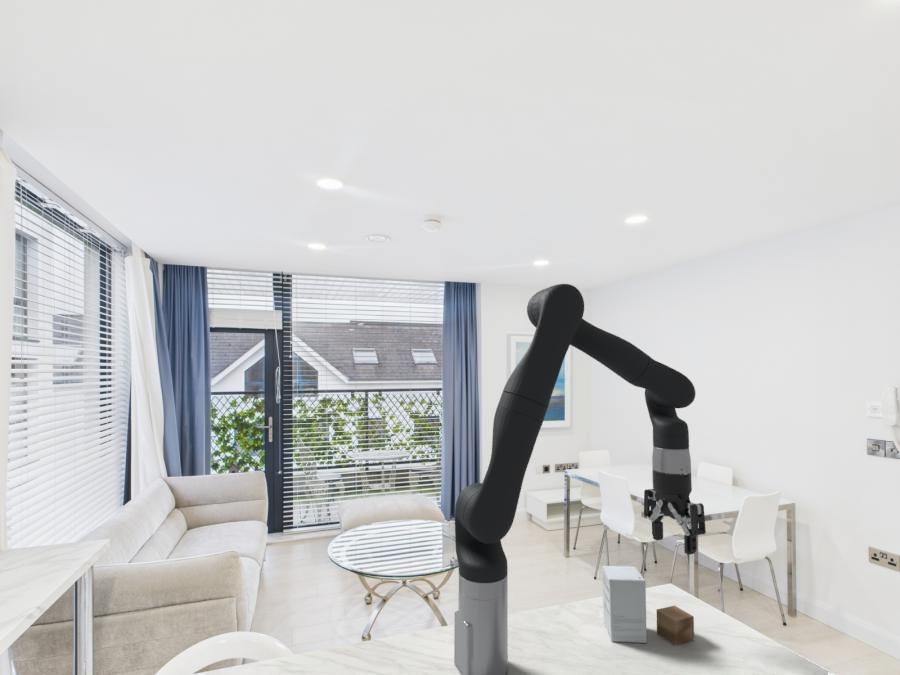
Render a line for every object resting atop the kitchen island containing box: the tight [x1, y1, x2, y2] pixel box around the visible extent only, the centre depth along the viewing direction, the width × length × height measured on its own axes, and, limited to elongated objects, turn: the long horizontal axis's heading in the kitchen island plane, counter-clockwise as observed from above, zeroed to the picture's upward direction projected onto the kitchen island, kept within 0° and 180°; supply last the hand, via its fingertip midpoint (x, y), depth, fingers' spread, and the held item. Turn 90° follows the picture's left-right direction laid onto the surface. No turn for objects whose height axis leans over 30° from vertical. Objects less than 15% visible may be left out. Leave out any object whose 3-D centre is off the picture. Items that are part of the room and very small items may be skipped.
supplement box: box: [602, 565, 648, 644], centre depth 105 cm, size 7×7×13 cm
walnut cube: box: [656, 604, 695, 647], centre depth 103 cm, size 5×5×5 cm
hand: (673, 546), depth 104 cm, fingers open, 8 cm apart
